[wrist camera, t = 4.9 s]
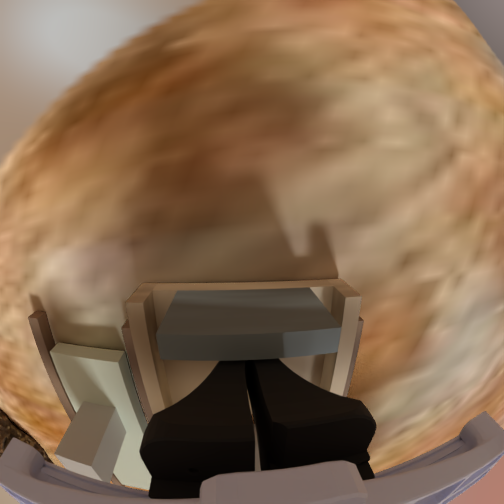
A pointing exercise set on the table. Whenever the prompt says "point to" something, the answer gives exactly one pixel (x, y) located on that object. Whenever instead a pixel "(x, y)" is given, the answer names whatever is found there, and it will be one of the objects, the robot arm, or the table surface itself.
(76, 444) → the strip
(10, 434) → the bread roll
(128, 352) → the lane frame
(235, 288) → the wooden tray
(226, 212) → the table surface
